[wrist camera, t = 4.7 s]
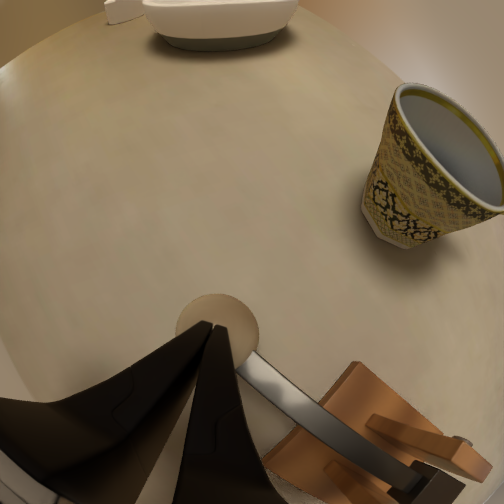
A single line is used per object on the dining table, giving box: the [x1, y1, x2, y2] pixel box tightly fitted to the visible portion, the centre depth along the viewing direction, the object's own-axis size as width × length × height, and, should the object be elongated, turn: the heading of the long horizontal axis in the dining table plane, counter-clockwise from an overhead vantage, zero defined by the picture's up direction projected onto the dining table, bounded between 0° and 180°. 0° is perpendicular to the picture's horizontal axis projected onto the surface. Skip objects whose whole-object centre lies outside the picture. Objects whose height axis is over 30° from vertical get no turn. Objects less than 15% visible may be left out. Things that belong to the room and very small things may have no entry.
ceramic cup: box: [361, 83, 504, 249], centre depth 16 cm, size 13×10×10 cm
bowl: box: [142, 0, 299, 51], centre depth 27 cm, size 22×22×8 cm
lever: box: [175, 294, 466, 504], centre depth 8 cm, size 16×3×3 cm, turn 47°
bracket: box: [262, 361, 493, 504], centre depth 9 cm, size 11×9×10 cm
